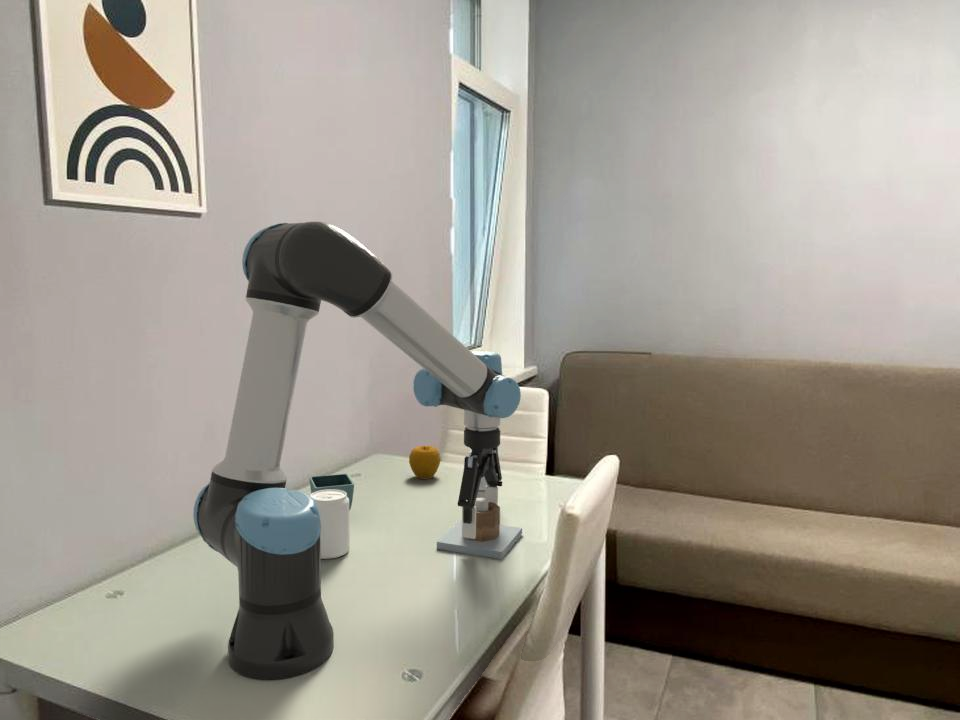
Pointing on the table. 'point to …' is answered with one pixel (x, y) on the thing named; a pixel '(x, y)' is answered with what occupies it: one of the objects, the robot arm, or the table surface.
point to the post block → (485, 548)
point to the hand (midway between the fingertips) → (480, 526)
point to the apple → (424, 461)
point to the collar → (487, 523)
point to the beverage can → (333, 522)
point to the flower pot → (333, 484)
